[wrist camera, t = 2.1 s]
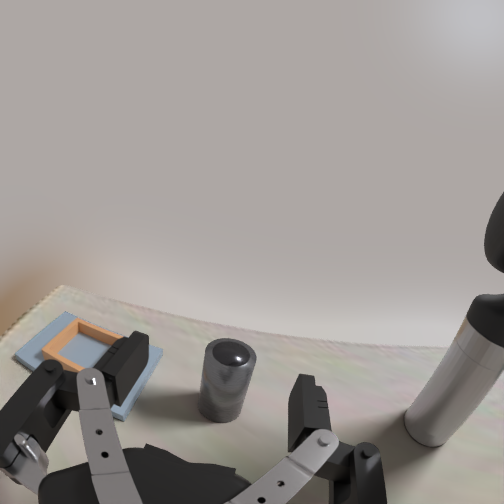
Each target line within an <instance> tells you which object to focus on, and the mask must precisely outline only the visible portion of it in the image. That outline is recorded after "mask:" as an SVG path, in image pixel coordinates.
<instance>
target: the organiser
mask: <svg viewBox="0 0 504 504" xmlns="http://www.w3.org/2000/svg"><path fill="white" fill-rule="evenodd" d="M122 337H124V336H123V335H121V334H118V333H115V332H113V331H110V330H108V329H105V328H103V327H100V326H98V325H96V324H93V323H91V322H89V321H86V320H84V319H82V318H79V317H77V316H75V315H73V314H71V313H68V312H66V311H65V312H64V313H63V314H61V315H60V316H59V317H58V318H56V319H55V320H54V321H53V322H51V323H50V324H49V325H48V326H46V327H45V328H44V329H43V330H42V331H40V332H39V333H38V334H37V335H36V336H34V337H33V338H32V339H31V340H30V341H29V342H27V343H26V344H25V345H24V346H23V347H22V348H21V349H19V350H18V351H17V352H16V353H15V356H16V358H17V360H18V361H19V362H20V363H22V364H23V365H24V366H26V367H27V368H29V369H30V370H32V371H34V370H35V369H36V368H37V367H38V366H39V365H40V364H41V363H42V362H43V361H45V360H48V359H53V360H57V361H59V362H60V363H61V364H62V366H63V369H64V370H68V371H72V372H78V373H79V372H80V371H81V370H82V369H85V368H93V367H94V365H95V364H96V363H97V362H98V361H99V360H100V358H101V357H102V356H103V355H104V354H105V353H106V352H107V350H108V349H109V348H110V347H111V346H112V345H113V343H114V342H115V341H116V340H118V339H120V338H122ZM125 337H126V336H125ZM128 338H129V337H128ZM162 355H163V349H161V348H158V347H155V346H152V345H149V359H148V363H147V366H146V367H145V369H144V371H143V372H142V374H141V375H140V377H139V378H138V380H137V382H136V383H135V385H134V386H133V388H132V390H131V391H130V393H129V394H128V396H127V398H126V399H125V401H124V402H123V404H122V406H121V407H119V406H117V405H113V406H112V408H111V413H112V416H113V417H115V418H117V419H119V420H122V421H125V419H126V417H127V416H128V414H129V412H130V410H131V409H132V407H133V405H134V403H135V402H136V400H137V398H138V396H139V395H140V393H141V391H142V389H143V388H144V386H145V384H146V383H147V381H148V379H149V377H150V376H151V374H152V372H153V371H154V369H155V367H156V365H157V364H158V362H159V360H160V359H161V357H162Z"/></svg>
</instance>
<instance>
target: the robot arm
mask: <svg viewBox="0 0 504 504" xmlns="http://www.w3.org/2000/svg"><path fill="white" fill-rule="evenodd" d="M484 248H485V255H486V257H487V260H488V262H489V263H490V264H491V265H492V266H493V267H494V268H496V269H497V270H499V271H501V272H503V273H504V192H503V194H502V196H501V197H500V199H499V200H498V202H497V204H496V206H495V208H494V210H493V212H492V214H491V217H490V219H489V222H488V225H487V228H486V234H485V240H484ZM148 359H149V336H148V335H147V334H144V333H141V332H138V331H134V332H133V333H132V334H131V335H130V337H129V338H128V337H125V336H124V337H122V338H120V339H118V340H116V341H115V342H114V343H113V345H112V346H111V347H110V348H109V349H108V350H107V352H106V353H105V354H104V355H103V356H102V357H101V358H100V360H99V361H98V362H97V363H96V364H95V365H94V367H93V368H85V369H82V370H81V371H80V372H79V373H78V372H72V371H68V370H64V369H63V366H62V364H61V363H60V362H59V361H57V360H53V359H48V360H45V361H43V362H42V363H41V364H40V365H39V366H38V367H37V368H36V369H35V370H34V371H33V373H32V374H31V375H30V376H29V377H28V378H27V379H26V380H25V382H24V383H23V384H22V385H21V386H20V387H19V389H18V390H17V391H16V392H15V393H14V395H13V396H12V397H11V398H10V399H9V401H8V402H7V403H6V404H5V405H4V407H3V408H2V409H1V410H0V470H1V471H2V472H3V473H4V474H5V475H6V476H8V477H9V478H10V479H11V480H13V481H14V482H15V483H17V484H20V485H24V486H25V487H26V488H28V489H29V490H31V491H32V492H34V493H35V494H37V495H38V500H39V504H286V503H287V502H288V501H289V500H290V499H291V498H292V497H293V496H294V495H295V494H296V493H297V492H298V491H299V490H300V489H301V488H302V487H303V486H304V485H305V484H306V483H307V482H308V481H309V480H310V479H311V478H312V477H313V475H315V476H318V477H321V478H325V479H328V480H329V504H387V497H386V490H385V482H384V475H383V469H382V463H381V457H380V452H379V450H378V448H377V447H376V446H375V445H373V444H371V443H367V442H363V443H360V444H358V445H357V446H356V447H355V446H351V445H348V444H345V443H342V442H340V441H339V440H338V437H337V436H336V435H335V434H334V433H333V432H332V430H331V423H330V416H329V409H328V403H327V395H326V393H325V391H324V389H323V388H322V386H316V385H315V377H314V376H312V375H305V374H299V376H298V378H297V380H296V382H295V384H294V387H293V389H292V391H291V393H290V397H289V402H288V452H292V453H291V454H290V455H289V456H286V457H285V458H284V459H282V460H281V461H280V462H279V463H278V464H277V465H275V466H274V467H273V468H272V469H271V470H270V471H268V472H267V473H266V474H265V475H263V476H262V477H261V478H260V479H259V480H257V481H256V482H255V483H253V484H251V483H250V482H249V481H247V480H246V479H244V478H243V477H241V476H239V475H236V474H235V471H236V469H235V468H230V467H225V466H220V465H216V464H204V463H189V462H186V461H184V460H183V459H181V458H179V457H177V456H175V455H173V454H172V453H170V452H168V451H166V450H163V449H160V448H157V447H154V446H152V445H149V444H146V445H145V447H144V448H125V449H122V448H121V445H120V441H119V438H118V435H117V431H116V428H115V424H114V420H113V416H112V413H111V408H112V406H113V405H117V406H119V407H121V406H122V404H123V402H124V401H125V399H126V398H127V396H128V394H129V393H130V391H131V390H132V388H133V386H134V385H135V383H136V382H137V380H138V378H139V377H140V375H141V374H142V372H143V371H144V369H145V367H146V366H147V363H148ZM503 370H504V294H499V295H490V294H483V295H479V296H477V297H476V298H475V299H474V300H473V302H472V304H471V306H470V308H469V310H468V312H467V315H466V317H465V319H464V321H463V323H462V325H461V327H460V329H459V331H458V333H457V335H456V337H455V338H454V340H453V342H452V344H451V346H450V347H449V349H448V351H447V353H446V354H445V356H444V358H443V359H442V361H441V362H440V364H439V366H438V367H437V369H436V370H435V372H434V374H433V375H432V377H431V378H430V380H429V381H428V382H427V384H426V385H425V387H424V388H423V390H422V391H421V392H420V394H419V395H418V396H417V398H416V399H415V401H414V402H413V403H412V405H411V406H410V407H409V408H408V410H407V411H406V413H405V417H404V420H405V426H406V428H407V430H408V432H409V433H410V435H411V436H412V437H413V438H414V439H415V440H416V441H418V442H419V443H421V444H423V445H426V446H430V447H436V446H440V445H442V444H444V443H445V442H446V441H447V440H448V439H449V438H450V437H451V436H452V435H453V434H454V433H455V432H456V431H457V430H458V429H459V428H460V426H461V425H462V424H463V423H464V422H465V421H466V420H467V419H468V417H469V416H470V415H471V414H472V413H473V411H474V410H475V409H476V408H477V407H478V405H479V404H480V403H481V401H482V400H483V399H484V398H485V396H486V395H487V394H488V392H489V391H490V389H491V388H492V387H493V385H494V384H495V382H496V381H497V379H498V378H499V377H500V375H501V374H502V372H503ZM72 410H73V411H78V412H79V417H80V423H81V429H82V435H83V440H84V445H85V449H86V454H87V458H88V462H85V463H82V464H79V465H76V466H73V467H70V468H66V469H63V470H59V471H56V472H52V473H50V474H48V475H47V468H48V464H49V460H48V457H47V455H46V454H45V453H46V451H47V450H48V448H49V446H50V445H51V443H52V441H53V440H54V438H55V436H56V435H57V433H58V432H59V430H60V428H61V427H62V425H63V424H64V422H65V420H66V419H67V417H68V416H69V414H70V413H71V411H72Z"/></svg>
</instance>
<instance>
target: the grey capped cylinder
mask: <svg viewBox="0 0 504 504" xmlns="http://www.w3.org/2000/svg"><path fill="white" fill-rule="evenodd" d="M255 363H256V354H255V352H254V350H253V349H252V348H251V347H250V346H249V345H247V344H245V343H244V342H241V341H239V340H235V339H229V338H222V339H217V340H214V341H212V342H210V343H209V344H208V345H207V347H206V350H205V357H204V364H203V371H202V379H201V386H200V394H199V402H198V407H199V410H200V412H201V414H202V415H203V416H204V417H206V418H207V419H209V420H211V421H214V422H218V423H227V422H231V421H233V420H235V419H236V418H237V417H238V416H239V414H240V412H241V409H242V406H243V402H244V399H245V396H246V393H247V389H248V386H249V383H250V380H251V376H252V373H253V370H254V366H255Z"/></svg>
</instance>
